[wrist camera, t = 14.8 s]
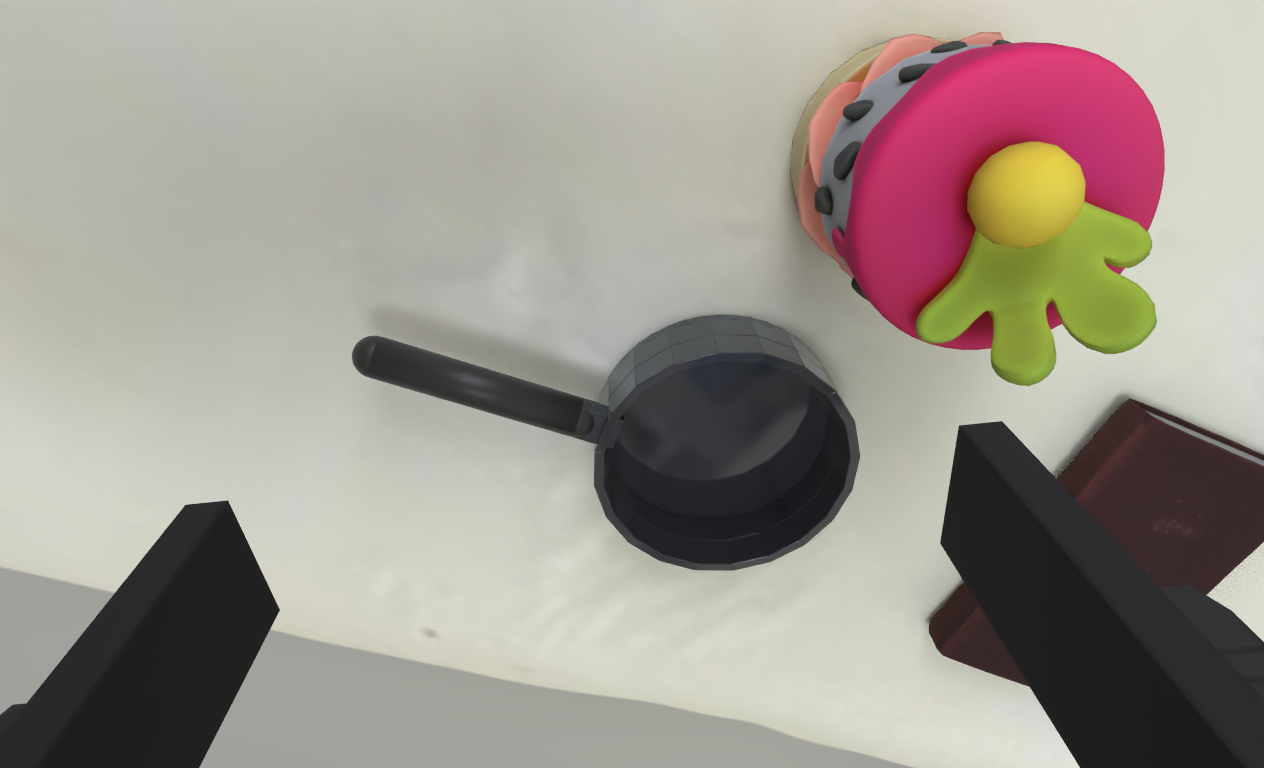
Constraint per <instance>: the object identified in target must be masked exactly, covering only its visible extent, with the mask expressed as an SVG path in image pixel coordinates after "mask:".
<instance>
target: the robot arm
mask: <svg viewBox="0 0 1264 768" xmlns="http://www.w3.org/2000/svg"><path fill="white" fill-rule="evenodd" d="M940 544H941V545H942V547H943V548H944V550H945V552H946V553H947V555H948V556H949V558H950V560H951V561H952V563H953V564H954V566H955V568H956V569H957V571H958V572H959V574H960V576H961V577H962V579H963V580H964V582H965V584H966V585H967V587H968V588H969V590H970V592H971V593H972V595H973V596H974V598H975V600H976V601H977V603H978V604H979V606H980V608H981V609H982V611H983V612H984V614H985V616H986V617H987V619H988V621H989V622H990V624H991V625H992V627H993V629H994V630H995V632H996V633H997V635H998V637H999V638H1000V640H1001V641H1002V643H1003V645H1004V646H1005V648H1006V649H1007V651H1008V653H1009V654H1010V656H1011V657H1012V659H1013V661H1014V662H1015V664H1016V665H1017V667H1018V669H1019V670H1020V672H1021V673H1022V675H1023V677H1024V678H1025V680H1026V681H1027V683H1028V685H1029V686H1030V688H1031V689H1032V691H1033V693H1034V694H1035V696H1036V697H1037V699H1038V701H1039V702H1040V704H1041V706H1042V707H1043V709H1044V710H1045V712H1046V714H1047V715H1048V717H1049V718H1050V720H1051V722H1052V723H1053V725H1054V726H1055V728H1056V730H1057V731H1058V733H1059V734H1060V736H1061V738H1062V739H1063V741H1064V742H1065V744H1066V746H1067V747H1068V749H1069V750H1070V752H1071V754H1072V755H1073V757H1074V758H1075V760H1076V762H1077V763H1078V765H1079V766H1080V768H1264V642H1263V641H1262V640H1261V639H1260V638H1259V637H1258V636H1257V635H1256V634H1255V633H1254V632H1253V631H1252V630H1251V629H1250V628H1249V627H1248V626H1247V625H1246V624H1245V623H1244V622H1243V621H1242V620H1241V619H1239V618H1238V617H1237V616H1236V615H1235V614H1234V613H1233V612H1232V611H1231V610H1229V609H1228V608H1226V607H1224V606H1223V605H1221V604H1219V603H1218V602H1216V601H1215V600H1213V599H1211V598H1210V597H1208V596H1206V595H1205V594H1203V593H1202V592H1200V591H1198V590H1197V589H1195V588H1193V587H1192V586H1190V585H1179V586H1169V587H1158V586H1157V585H1156V584H1155V583H1154V582H1153V581H1152V580H1151V579H1150V578H1149V577H1148V576H1147V574H1146V573H1145V572H1144V571H1143V570H1142V569H1141V568H1140V567H1139V566H1138V565H1137V564H1136V563H1135V562H1134V561H1133V560H1132V559H1131V558H1130V556H1129V555H1128V554H1127V553H1126V552H1125V551H1124V550H1123V549H1122V548H1121V547H1120V546H1119V545H1118V544H1117V543H1116V542H1115V541H1114V540H1113V538H1112V537H1111V536H1110V535H1109V534H1108V533H1107V532H1106V531H1105V530H1104V529H1103V528H1102V527H1101V526H1100V525H1099V524H1098V523H1097V522H1096V520H1095V519H1094V518H1093V517H1092V516H1091V515H1090V514H1089V513H1088V512H1087V511H1086V510H1085V509H1084V508H1083V507H1082V506H1081V505H1080V503H1079V502H1078V501H1077V500H1076V499H1075V498H1074V497H1073V496H1072V495H1071V494H1070V493H1069V492H1068V491H1067V490H1066V489H1065V488H1064V487H1063V485H1062V484H1061V483H1060V482H1059V481H1058V480H1057V479H1056V478H1055V477H1054V476H1053V475H1052V474H1051V473H1050V472H1049V471H1048V470H1047V469H1046V467H1045V466H1044V465H1043V464H1042V463H1041V462H1040V461H1039V460H1038V459H1037V458H1036V457H1035V456H1034V455H1033V454H1032V453H1031V452H1030V451H1029V449H1028V448H1027V447H1026V446H1025V445H1024V444H1023V443H1022V442H1021V441H1020V440H1019V439H1018V438H1017V437H1016V436H1015V435H1014V434H1013V433H1012V431H1011V430H1010V429H1009V428H1008V427H1007V426H1006V425H1005V424H1004V423H1003V422H1002V421H1000V422H991V423H981V424H971V425H961V426H959V429H958V435H957V441H956V448H955V454H954V460H953V466H952V473H951V479H950V485H949V492H948V498H947V504H946V510H945V517H944V523H943V529H942V536H941V542H940ZM279 611H280V609H279V607H278V605H277V603H276V601H275V599H274V597H273V595H272V593H271V590H270V588H269V586H268V584H267V582H266V580H265V578H264V576H263V574H262V571H261V569H260V567H259V565H258V563H257V561H256V559H255V557H254V555H253V552H252V550H251V548H250V546H249V544H248V542H247V540H246V538H245V536H244V533H243V531H242V529H241V527H240V525H239V523H238V521H237V519H236V517H235V514H234V512H233V510H232V508H231V506H230V504H229V502H228V501H219V502H210V503H200V504H190V505H185V506H184V508H183V509H182V510H181V511H180V513H179V514H178V515H177V516H176V518H175V519H174V520H173V521H172V523H171V524H170V525H169V526H168V528H167V529H166V530H165V531H164V533H163V534H162V535H161V536H160V538H159V539H158V540H157V541H156V543H155V544H154V545H153V546H152V548H151V549H150V550H149V551H148V553H147V554H146V555H145V556H144V558H143V559H142V560H141V561H140V563H139V564H138V565H137V566H136V568H135V569H134V570H133V571H132V573H131V574H130V575H129V576H128V578H127V579H126V580H125V581H124V583H123V584H122V585H121V586H120V588H119V589H118V590H117V591H116V593H115V594H114V595H113V596H112V598H111V599H110V600H109V601H108V603H107V604H106V605H105V606H104V608H103V609H102V610H101V612H100V613H99V614H98V615H97V616H96V618H95V619H94V620H93V621H92V623H91V624H90V625H89V626H88V628H87V629H86V630H85V631H84V633H83V634H82V635H81V636H80V638H79V639H78V640H77V641H76V643H75V644H74V645H73V646H72V648H71V649H70V650H69V651H68V653H67V654H66V655H65V656H64V658H63V659H62V660H61V661H60V663H59V664H58V665H57V666H56V668H55V669H54V670H53V671H52V673H51V674H50V675H49V676H48V678H47V679H46V680H45V681H44V683H43V684H42V685H41V686H40V688H39V689H38V690H37V691H36V693H35V694H34V695H33V696H32V698H31V699H30V700H29V701H28V703H27V704H16V705H12V706H11V707H9V708H8V709H7V710H6V711H5V712H3V713H2V714H1V715H0V768H199V767H200V765H201V763H202V761H203V759H204V757H205V755H206V753H207V751H208V749H209V747H210V745H211V743H212V741H213V740H214V738H215V736H216V733H217V732H218V730H219V728H220V726H221V724H222V722H223V720H224V718H225V716H226V714H227V712H228V710H229V708H230V706H231V704H232V702H233V700H234V699H235V696H236V695H237V692H238V691H239V689H240V687H241V685H242V683H243V681H244V679H245V677H246V675H247V673H248V671H249V669H250V667H251V665H252V663H253V661H254V659H255V658H256V656H257V654H258V652H259V650H260V648H261V646H262V644H263V642H264V640H265V638H266V636H267V634H268V632H269V630H270V628H271V626H272V624H273V622H274V620H275V618H276V617H277V615H278V613H279Z"/></svg>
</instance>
